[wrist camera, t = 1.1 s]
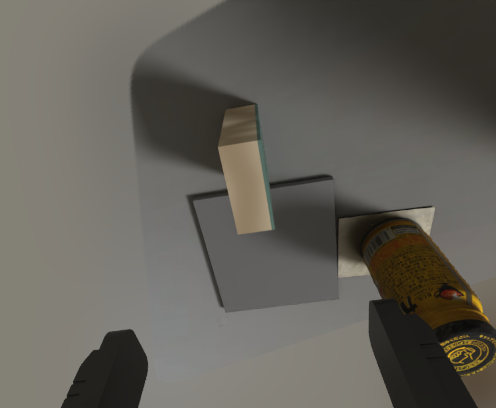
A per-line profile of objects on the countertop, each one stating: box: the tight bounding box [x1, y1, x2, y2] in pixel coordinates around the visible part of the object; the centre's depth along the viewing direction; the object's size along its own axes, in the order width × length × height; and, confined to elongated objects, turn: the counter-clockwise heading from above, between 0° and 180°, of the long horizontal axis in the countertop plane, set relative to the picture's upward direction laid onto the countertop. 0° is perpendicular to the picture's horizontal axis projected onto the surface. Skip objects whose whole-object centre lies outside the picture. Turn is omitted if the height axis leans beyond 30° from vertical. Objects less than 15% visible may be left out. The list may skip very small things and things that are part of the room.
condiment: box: [338, 207, 496, 377], centre depth 26 cm, size 7×8×12 cm
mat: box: [193, 176, 339, 313], centre depth 32 cm, size 12×14×1 cm
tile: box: [218, 104, 275, 235], centre depth 23 cm, size 2×6×8 cm, turn 10°
